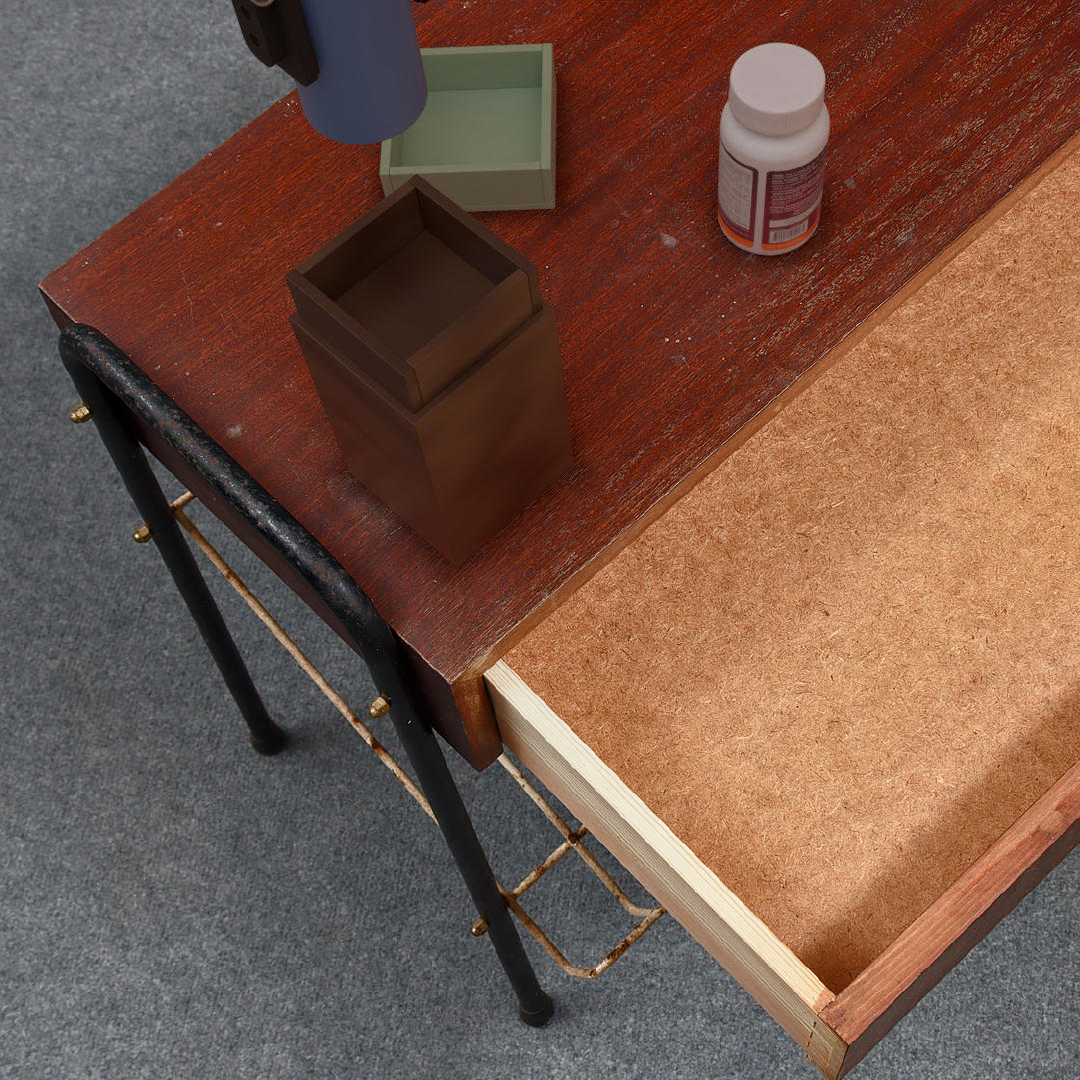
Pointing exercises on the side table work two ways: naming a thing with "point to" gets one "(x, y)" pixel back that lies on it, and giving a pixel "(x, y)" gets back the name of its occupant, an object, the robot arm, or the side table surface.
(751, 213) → the pill bottle
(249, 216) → the side table surface
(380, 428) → the stand
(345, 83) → the vial
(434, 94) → the bin
